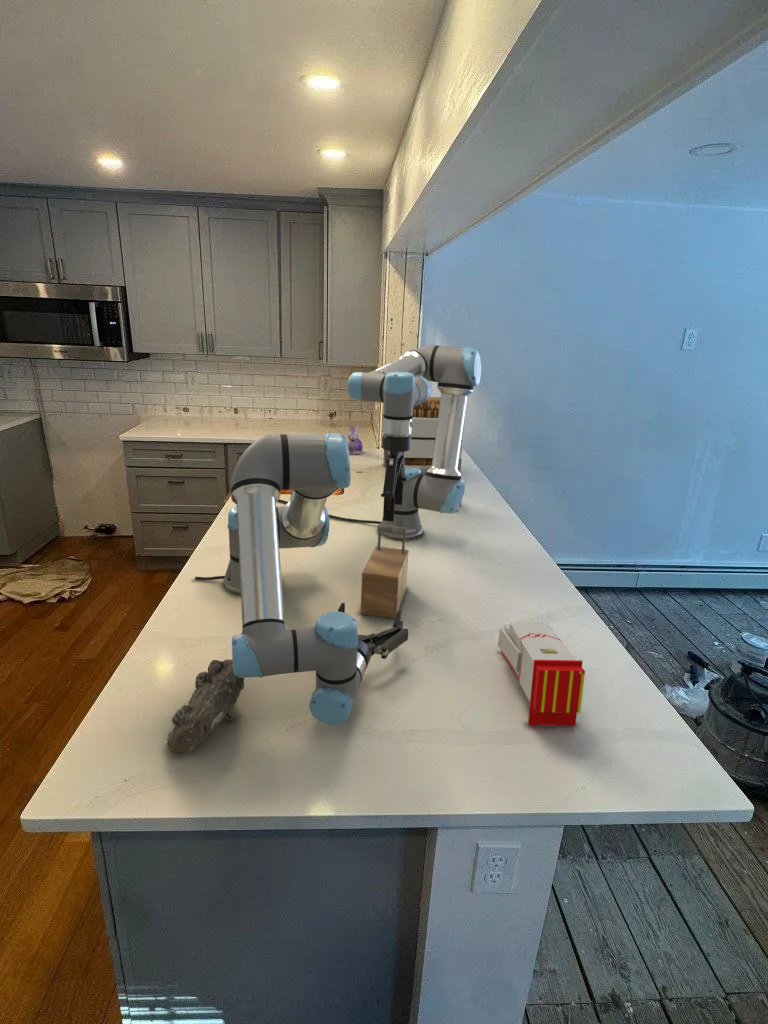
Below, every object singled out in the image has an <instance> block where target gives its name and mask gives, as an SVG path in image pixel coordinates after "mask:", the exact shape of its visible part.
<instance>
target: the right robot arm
mask: <svg viewBox="0 0 768 1024" xmlns="http://www.w3.org/2000/svg"><path fill="white" fill-rule="evenodd" d="M481 378H482V361H481V355H480V353H479V351H478V350H477V349H476V348H474V347H467V346H454V345H438V344H429V345H424V346H420V347H416V348H414V349H410V350H408V351H405V352H404V353H402V354H401V356H400V357H399V358H398V359H395V360H394V361H392V362H389V363H386V364H385V365H383V366H381V367H379V368H375V369H373V370H372V371H369V372H363V371H360V372H359V371H357V372H352V373H351V374H350V375H349V377H348V380H347V393H348V395H349V397H350V398H351V399H352V400H356V401H361V402H372V403H381V404H383V411H382V413H383V414H382V426H381V427H382V429H381V432H382V433H383V434H382V435H381V448H382V449H383V451H384V450H386V451H389V452H390V455H389V457H387V459H386V461H387V462H386V466H385V473H384V481H383V489H382V493H380V497H381V498H383V507H382V508H383V509H382V510H383V512H382V519H381V521H380V520H369V519H368V520H365V519H356V518H348V517H341V516H337V515H333V514H329V513H328V515H329V519H335V520H338V521H344V522H352V523H360V524H361V523H362V524H374V525H378V524H380V525H389V526H398V527H407V532H406V536H405V541H410V540H415V539H418V538H420V537H421V536H422V535H423V525H422V524H421V518H420V515H419V509H420V510H427V511H433V512H438V513H440V514H449V515H450V514H451V515H452V514H454V513H456V512H457V511H458V509H459V508H460V507H459V506H460V504H461V505H462V502H463V499H464V495H465V490H466V481H464V480H463V479H462V473H461V474H460V472H459V471H458V460H459V453H460V446H461V440H462V439H463V438H462V432H463V424H464V425H465V421H464V420H465V416H466V408H467V401H468V397H469V396H470V394H472V393H473V392H474V387H477V386H479V385H480V383H481ZM430 382H432V383H437V386H436V388H437V390H438V391H439V392H440V397H441V399H440V407H439V415H438V422H437V430H436V438H435V446H434V453H433V461H432V465H430V466H429V468H428V469H426V473H425V474H422V470H421V468H419V467H416V466H406V465H404V452H406V451H409V450H410V449H411V436H410V434H411V431H412V426H414V423H413V422H411V421H412V418H413V407H414V406H418V405H421V404H423V403H424V402H425V401H427V400H428V399H429V397H431V394H432V386H431V383H430ZM463 433H464V432H463ZM405 466H406V467H405ZM461 501H462V502H461ZM278 502H279V503H281V504H285V505H286V504H287V503H288V502H289V501H287V500H283V499H281V498H280V499H279V500H278V501H277V503H278ZM381 536H382V537H385V538H387V539H389V540H395V541H402V539H403V534H394V533H385V532H381Z"/></svg>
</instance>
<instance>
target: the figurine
mask: <svg viewBox="0 0 768 1024" xmlns="http://www.w3.org/2000/svg"><path fill="white" fill-rule="evenodd" d="M348 427H349V432H348V434H347V438H348V440H347V444H348V450H349V455H360V454H362V452H363V447H364V446H363V443H362V441H361V439H360V438H359V433H358V427H359V426H358V424H356V425H355V426H354V427H353V426H352V425H349V426H348Z"/></svg>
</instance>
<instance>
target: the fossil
mask: <svg viewBox="0 0 768 1024" xmlns="http://www.w3.org/2000/svg"><path fill="white" fill-rule="evenodd" d="M194 684H195V685H194V687H195V689H194V690H193V693H192V694H191V697H190V698H189V700H188V704H184V705H182V706H181V707H180V709H177V710H176V711H175V713H174V715H173V716H172V718H171V723H172V724H173V727H172V730H171V731H170V732H168V734H167V738H166V741H167V742H166V745H167V749H168V750H169V751H173V752H174V753H176V754H178V753H182V752H188V751H189V752H192V751H193V750H195V748H196V747H197V746H199V744H200V743H201V742H203V741H204V740H205V739H206V738H207V737H208V736H209V735H210V734H211V733H212V732H214V730H215V729H217V727H218V726H219V724H220V722H221V721H222V720H223V719H224V718H225V716H226V717H227V719H229V720H233V717H232V715H230V714H229V710H230V709H231V708H234V706H235V704H236V703H237V702H238V699H239V697H240V695H241V693H242V691H243V690H245V689H244V688H245V678H238V677H236V676H235V675H234V672H233V661H232V658H231V659H227V658H226V659H224V660H223V661H222V660H217V659H212V660H211V661H210V663H209V665H208V666H207V671H201V672H199V673H198V674H197V675H196V676H195V680H194Z"/></svg>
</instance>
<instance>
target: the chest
mask: <svg viewBox="0 0 768 1024" xmlns="http://www.w3.org/2000/svg"><path fill="white" fill-rule="evenodd" d="M408 565H409V555H408V556H407V559H406V561H405V564H404V567H403V569H402V572H401V575H400V577H399V580H398V581H396V580H388V579H380V578H372V577H364V576H362V575H361V590H360V614H361V615H368V616H376V617H384V618H391V619H395V617H396V615H397V612H398V610H400V608H401V605H402V603H403V599H404V596H405V592H406V590H407V581H408Z"/></svg>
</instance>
